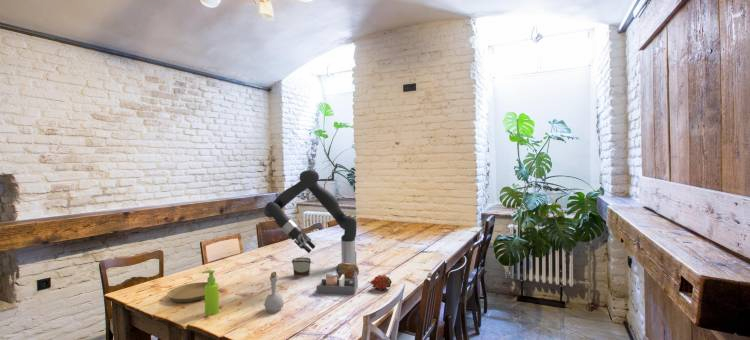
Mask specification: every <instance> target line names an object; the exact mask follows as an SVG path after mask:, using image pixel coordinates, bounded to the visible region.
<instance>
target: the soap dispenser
mask: <svg viewBox="0 0 750 340" xmlns="http://www.w3.org/2000/svg"><path fill="white" fill-rule="evenodd" d="M215 272H216V271H215V270H212V269H209V270H203V271H202V272H201V274H208V277H206V278H207V280H206V282H207V285H205V299H204V314H206V315H205V316H208V315H211V316H215V315H217V314H219V313H220V303H219V302H220V301H219V299H220V297H219V283H216V277H215V276H214V273H215Z"/></svg>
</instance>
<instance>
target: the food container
mask: <svg viewBox="0 0 750 340" xmlns="http://www.w3.org/2000/svg"><path fill="white" fill-rule="evenodd" d="M311 263H312V259H311V258H309V257H307V256H306V257H305V256H304V257H303V256H302V257H301V256H300V257H295V258H293V259H292V260H291V264H292V269H293V270H292V271H293V276H294V277H310V270H311Z"/></svg>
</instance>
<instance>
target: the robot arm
mask: <svg viewBox="0 0 750 340" xmlns="http://www.w3.org/2000/svg"><path fill="white" fill-rule="evenodd" d="M319 180H320V175H319V173H318V172H317V171H316V170H313V169H311V170H310V169H309V170H304V171H301V173H300V175H299V181H298V182H297V183H295V184H294V185H292V186H290V187H288V188H287V189H285V190H283V192H281V193H280V194H278V196H276V198H275V200H273V201H269V202H267V203H266V205H265V207H264V209H263V213H264V216H265V217H267V218H273V219H274V223H275V224H276V225H277V226H278V227H279V228H280V229H281V230H282V232H284V233H285V235H286V236H288V238H290V239H291V241H293V242H294V243H295V244H296V245H297V247H299V248H300V249H302V250H305V252H307V254H310V253H311V252H312V250H314V249H315V248H316V245H315V244H314V243H313V242H312V239H311V238H310V237H309V235H307V233H305V232H303V230H302V228H300V226H299V225H297V224H296V223H295V222H294V221H293V220H291V218H290V217H288V216H287V215H286V214H285V212H284V210H283V208H285V206H287V205H288V204H289V203H290V202H291V201H293V200H295V198H296V197H297V196H299V195H301V193H303V192H304V191H306V190H308V191H310V193H312V194H313V196H314V197H315V199H317V201H318V202H319V203H320V204H321V205H322V206H323V208H324V209H325V210H326V211H327V212H328V213H329V214H330V215H331V216H332V218H333V219H334V220H335V222H336V223H337V224H338V226H339V227H340V228H341V229H342V230H344V234H343V235H341V237H340V239H341V240H340V241H341V243H340V244H341V248H340V250H341V263H349V264H355V265H356V266H358V263H357V260H358V259H357V250H356V236H357V220H356V218H355V217H354V216H353V217H352V216H351V215H350V216H349V215H347V214H346V213H345V212H344V211H343V210H342V209H341V206H340V204H339V201H338V199H337V198H336V197H335V196H334V194H332V193H331V192H330V191H328V189H326V188H324V187H323V186H322V185H320V184H319V183H318V182H319ZM302 232H303V233H302Z"/></svg>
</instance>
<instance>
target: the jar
mask: <svg viewBox="0 0 750 340" xmlns="http://www.w3.org/2000/svg"><path fill="white" fill-rule="evenodd" d="M325 279H326V286H337V279H338V274H337V272H335V271H329V272H326V273H325Z"/></svg>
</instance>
